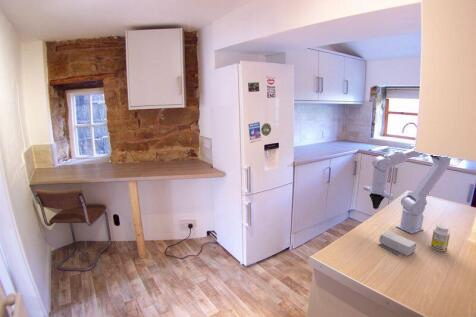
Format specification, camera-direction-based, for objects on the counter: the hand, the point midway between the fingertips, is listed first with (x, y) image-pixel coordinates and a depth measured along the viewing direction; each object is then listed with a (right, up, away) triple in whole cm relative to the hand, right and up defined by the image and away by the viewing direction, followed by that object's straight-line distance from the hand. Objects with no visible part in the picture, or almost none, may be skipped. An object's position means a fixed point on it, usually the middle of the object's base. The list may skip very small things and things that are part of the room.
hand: (375, 208), depth 129 cm
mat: (+1, -14, -14) cm, 20 cm away
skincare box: (-2, -11, -10) cm, 15 cm away
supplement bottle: (+19, -15, -15) cm, 28 cm away
